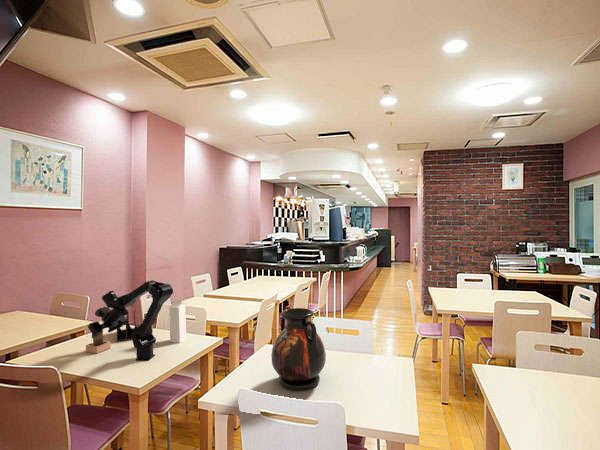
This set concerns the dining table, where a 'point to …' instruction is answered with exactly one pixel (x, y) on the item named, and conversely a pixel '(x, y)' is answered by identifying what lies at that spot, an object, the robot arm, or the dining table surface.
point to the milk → (177, 321)
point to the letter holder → (126, 330)
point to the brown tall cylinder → (98, 338)
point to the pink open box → (98, 347)
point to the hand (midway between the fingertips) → (100, 334)
